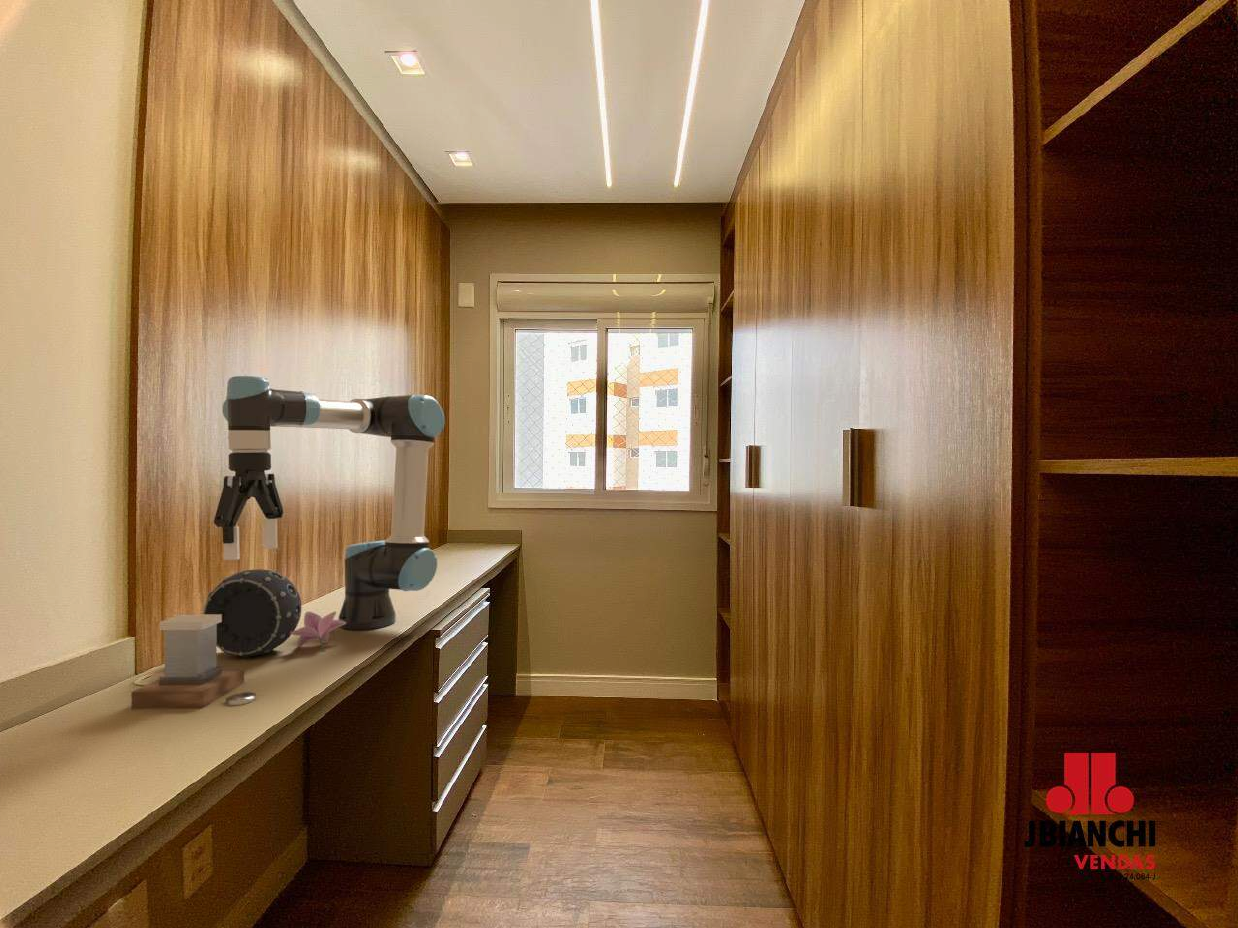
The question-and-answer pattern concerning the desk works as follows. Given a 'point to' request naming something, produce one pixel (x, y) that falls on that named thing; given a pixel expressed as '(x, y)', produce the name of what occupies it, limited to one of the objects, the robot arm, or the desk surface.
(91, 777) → the desk surface
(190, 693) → the walnut stand
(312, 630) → the lily
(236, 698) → the domed puck
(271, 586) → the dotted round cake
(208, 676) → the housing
